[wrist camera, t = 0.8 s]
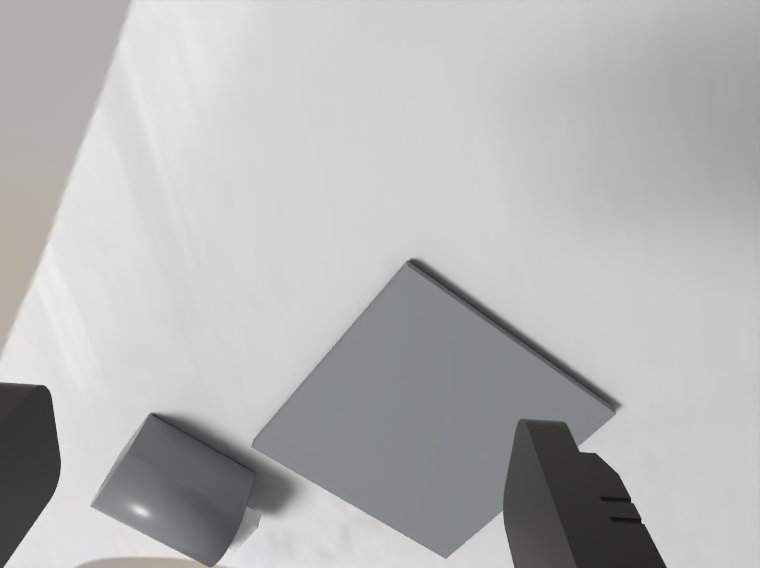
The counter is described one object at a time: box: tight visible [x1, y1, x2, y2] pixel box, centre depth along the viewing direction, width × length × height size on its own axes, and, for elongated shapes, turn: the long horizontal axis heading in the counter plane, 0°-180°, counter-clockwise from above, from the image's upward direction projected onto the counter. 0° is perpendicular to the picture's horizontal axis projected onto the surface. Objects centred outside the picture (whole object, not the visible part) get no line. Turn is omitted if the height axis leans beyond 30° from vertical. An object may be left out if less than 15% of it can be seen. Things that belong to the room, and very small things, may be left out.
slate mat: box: [251, 261, 616, 559], centre depth 34 cm, size 14×14×1 cm
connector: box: [91, 414, 261, 567], centre depth 35 cm, size 4×8×5 cm, turn 53°
